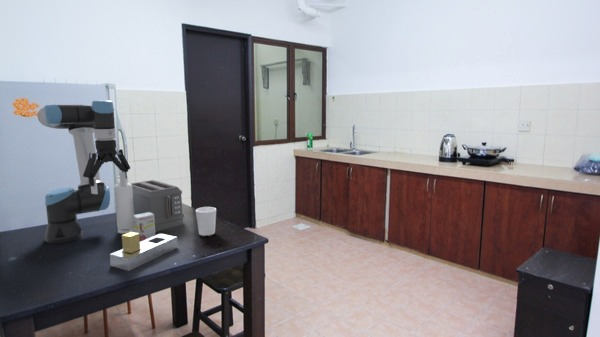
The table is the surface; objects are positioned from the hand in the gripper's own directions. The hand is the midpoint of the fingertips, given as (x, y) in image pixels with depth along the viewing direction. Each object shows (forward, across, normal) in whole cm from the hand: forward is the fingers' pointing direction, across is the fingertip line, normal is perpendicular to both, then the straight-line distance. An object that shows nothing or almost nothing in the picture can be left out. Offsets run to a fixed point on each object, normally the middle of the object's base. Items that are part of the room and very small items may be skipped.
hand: (109, 190), depth 154 cm
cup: (+28, +35, -22) cm, 49 cm away
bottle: (+28, +22, +18) cm, 40 cm away
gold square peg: (+27, -4, -16) cm, 32 cm away
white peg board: (+27, +3, -16) cm, 32 cm away
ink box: (+28, +18, +1) cm, 33 cm away
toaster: (+29, +39, +17) cm, 51 cm away
